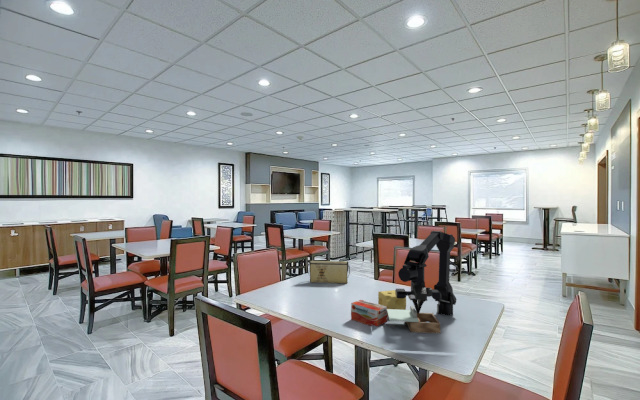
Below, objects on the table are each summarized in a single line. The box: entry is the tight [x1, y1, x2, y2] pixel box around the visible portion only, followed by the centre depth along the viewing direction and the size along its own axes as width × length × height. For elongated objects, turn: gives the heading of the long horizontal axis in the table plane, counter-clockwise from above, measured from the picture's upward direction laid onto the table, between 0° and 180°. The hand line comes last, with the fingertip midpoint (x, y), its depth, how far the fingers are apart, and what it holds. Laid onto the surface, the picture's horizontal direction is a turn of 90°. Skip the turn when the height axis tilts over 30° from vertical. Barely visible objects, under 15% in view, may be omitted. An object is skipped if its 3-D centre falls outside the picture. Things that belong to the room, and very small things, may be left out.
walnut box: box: [406, 312, 441, 334], centre depth 133 cm, size 12×12×5 cm
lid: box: [387, 305, 419, 323], centre depth 134 cm, size 12×12×3 cm
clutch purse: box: [306, 260, 351, 284], centre depth 211 cm, size 30×7×15 cm, turn 84°
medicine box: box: [350, 299, 388, 327], centre depth 142 cm, size 15×8×8 cm, turn 48°
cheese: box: [377, 289, 407, 317], centre depth 152 cm, size 10×11×10 cm
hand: (417, 313), depth 134 cm, fingers closed
